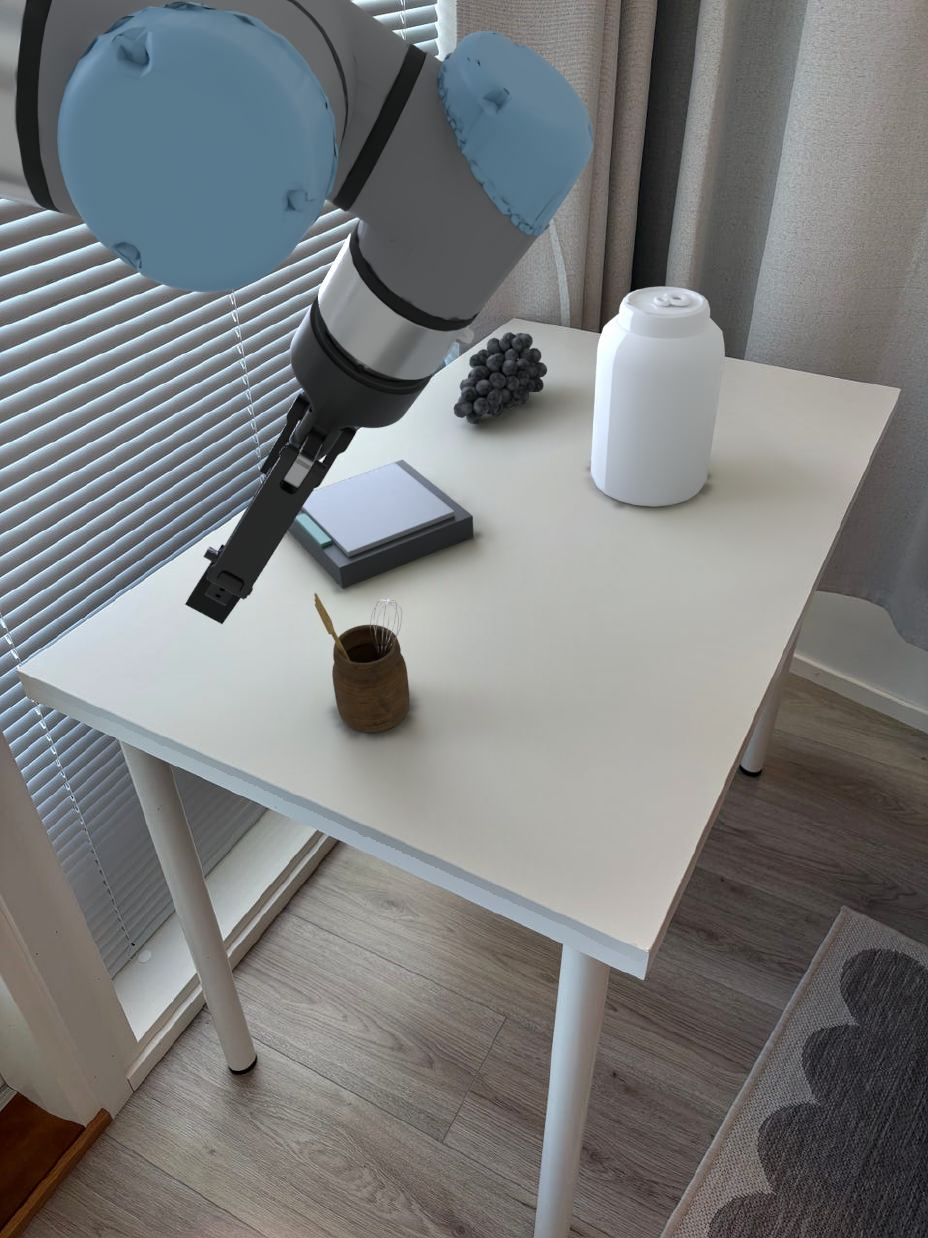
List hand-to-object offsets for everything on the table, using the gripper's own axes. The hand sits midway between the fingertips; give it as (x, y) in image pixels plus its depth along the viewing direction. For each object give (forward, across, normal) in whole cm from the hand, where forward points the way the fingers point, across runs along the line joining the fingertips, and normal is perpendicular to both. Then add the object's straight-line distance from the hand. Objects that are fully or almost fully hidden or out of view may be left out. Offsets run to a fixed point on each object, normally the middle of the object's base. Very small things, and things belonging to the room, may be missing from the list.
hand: (243, 539), depth 67 cm
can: (+4, +38, -35) cm, 52 cm away
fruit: (+18, +52, -20) cm, 58 cm away
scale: (+17, +24, -12) cm, 32 cm away
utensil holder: (+10, -1, -16) cm, 19 cm away
